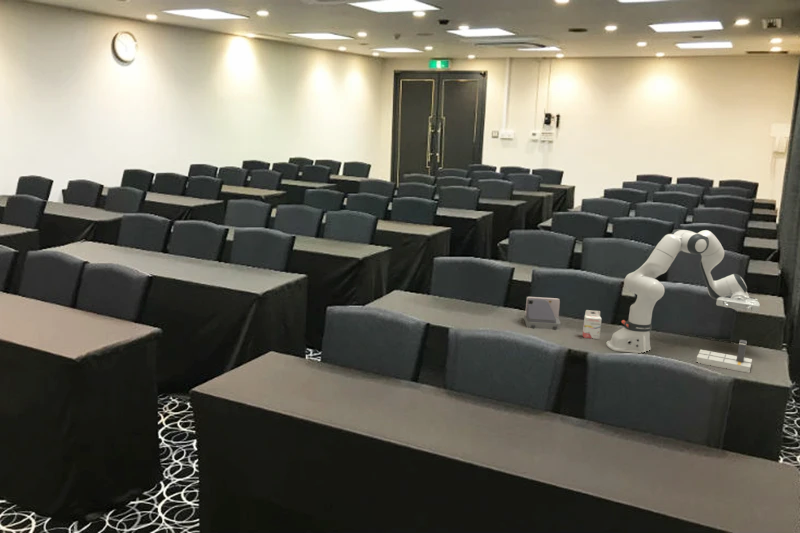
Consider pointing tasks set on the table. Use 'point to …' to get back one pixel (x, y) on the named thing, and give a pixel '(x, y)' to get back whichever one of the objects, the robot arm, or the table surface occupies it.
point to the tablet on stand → (542, 313)
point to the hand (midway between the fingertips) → (736, 307)
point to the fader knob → (741, 350)
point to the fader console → (723, 361)
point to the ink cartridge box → (592, 324)
